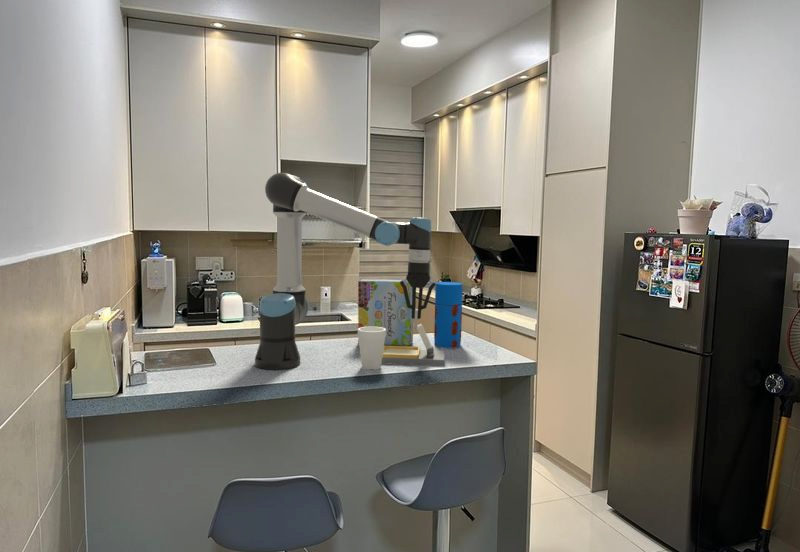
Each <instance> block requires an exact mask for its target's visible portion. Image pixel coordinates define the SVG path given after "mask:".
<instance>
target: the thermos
mask: <svg viewBox="0 0 800 552" xmlns="http://www.w3.org/2000/svg"><path fill="white" fill-rule="evenodd" d="M435 283H436V285H435V286H434V288H435V291H434V293H435V294H434V326H433V327H434V328H433V329H434V331H433V332H434V333H433V336H434V337H433V339H434V341H433V342H434V346H435V347H438V348H441V347H443V349H455V348H460V347H461V346H462V345H461V343H462V327H463V326H462V318H463V291H464V290H463V289H464V288H463V283H462V282H453V281H440V282H438V281H437V282H435Z"/></svg>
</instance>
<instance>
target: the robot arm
mask: <svg viewBox="0 0 800 552" xmlns="http://www.w3.org/2000/svg"><path fill="white" fill-rule="evenodd" d="M264 189H265V191H264V192H265V195H266V196H265V197H266V199H267V200H268V201H269V202H270V203H271V204H272V214H274V216H275V217H276V218H277V220H276V221H277V228H276V230H277V231H276V232H277V233H276V235H277V238H276V239H277V242H276V243H277V246H276V247H277V248H276V250H277V251H276V252H277V253H276V255H277V256H276V267H277V268H276V270H277V271H276V275H277V276H276V278H277V279H276V285H275V286H273V288H272V293H271V294H267V295H264V296H263V297H262V296H261V299H260V301H259V307H258V308H259V309H258V310H259V345H258V347H257V351H256V354H255V357H254V366H255V367H256V368H259V369H263V370H286V369H291V368H295V367H298V366H299V365H301V355H300V351H299V349H298V346H297V344H296V342H297V341H296V325H299V324H300V323H302V321H303V320H305V318H306V316H307V314H308V311H309V302H308V300H307V298H306V288H305V287H304V286H303V285H302V263H303V261H302V253H303V252H302V251H303V250H302V247H303V245H302V242H303V240H302V239H303V235H302V234H303V233H302V232H303V231H302V230H303V218H304V217H305V216H306V215H307V214H308V215H309V214H310V215H312V216H314V217H316V218H320V219H322V220H324V221H326V222H328V223H331V224H333V225H334V224H335V225H337V226H339V227H341V228H344V229H346V230H348V231H351V232H354V233H356V234H358V235H361V236H364V237H366V238H369V239H371V240H373V241H375V243H377V244H378V243H379V244H381V245H383V246H391V245H395V244H396V245H397V244H398V245H408V261H409V262H408V263H407V274H406V276H405V278H404V279H403V280H402V279H400V280H401V281H400V284H401V286H402V287H403V291H404V295H405V300H406V304H407V307H408V308H411V309H412V319H413V320H414V322H413V329H416V330H417V325H418V320H420V319H421V318H422V317H421V316H422V310H423V309H424V310H425V309H427V306H428V303H429V300H430V297H431V294H432V291H433V289H434V288H435V287H436V283H437V282H435V281H433V280H432V279H431V276H430V263H429V262H430V261H431V259H430V258H431V242H432V220H431V219H430V218H429V217H428V218H427V217H410V219H409V222H394V221H389V220H387V219H384V218H382V217H378V216H376V215H375V214H371V213H369V212H367V211H364V210H362V209H359V208H357V207H355V206H352V205H349V204H347V203H344V202H342V201H339V200H338V199H335V198H332V197H329V196H327V195H325V194H323V193H320V192H317V191H315V190H313V189H310V188H309V186H308V184H307V182H305V180H304V179H302V178H301V177H299V176H297V175H292V174H290V173H287V172H277V173H274V174H273V175H271V176H270V177H269V178H268V179H267V181H266V184H265V186H264ZM407 281H408V282H409V284H410V286H411V287H412V305H411V304H410V300H409V295H408V290H407V286H406V285H407ZM427 284H428V290H427V293H426V296H425V299H424V302H423V293H424V288H425V287H426V285H427ZM417 289H418V301H417ZM416 301H417V302H416ZM422 303H423V304H422ZM416 307H417V308H416Z"/></svg>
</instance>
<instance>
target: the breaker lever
mask: <svg viewBox="0 0 800 552" xmlns="http://www.w3.org/2000/svg"><path fill="white" fill-rule="evenodd" d="M416 331H418V333H419V336H420V338H421V341H422V344H423V345H424V347H425V350H427V354H428V353H431V354H433V352H434V350H435V349H434V346H433V345H432V344H431V341H430V339H429V337H428V334H427V333H426V330H425V328H424V325H423V323H420V324H417V329H416Z"/></svg>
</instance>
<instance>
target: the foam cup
mask: <svg viewBox="0 0 800 552" xmlns="http://www.w3.org/2000/svg"><path fill="white" fill-rule="evenodd" d="M385 337H386V329H385V328H382V327H361V328H357V339H358V338H359V344H358V345H359V353H360V362H361V368H362V369H363V370H370V369H375V370H379V368H380V367H382V364H383V363H382V356H383V349H384V342H385ZM380 369H381V368H380Z"/></svg>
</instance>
